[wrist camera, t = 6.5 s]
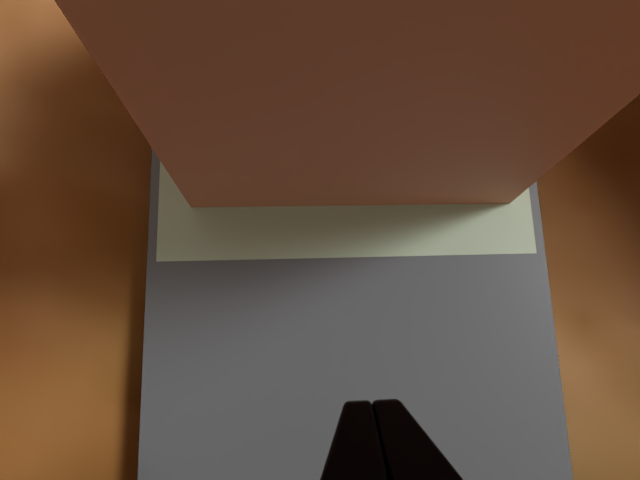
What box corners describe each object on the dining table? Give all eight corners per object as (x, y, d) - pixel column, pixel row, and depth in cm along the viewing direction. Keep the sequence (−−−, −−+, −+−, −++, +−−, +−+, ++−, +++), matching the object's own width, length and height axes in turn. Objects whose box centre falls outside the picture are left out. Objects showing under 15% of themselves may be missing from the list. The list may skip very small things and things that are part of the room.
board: (589, 699, 14) (602, 713, 13) (133, 721, 14) (126, 737, 13) (504, -13, 19) (511, -26, 18) (163, -12, 18) (159, -25, 18)
